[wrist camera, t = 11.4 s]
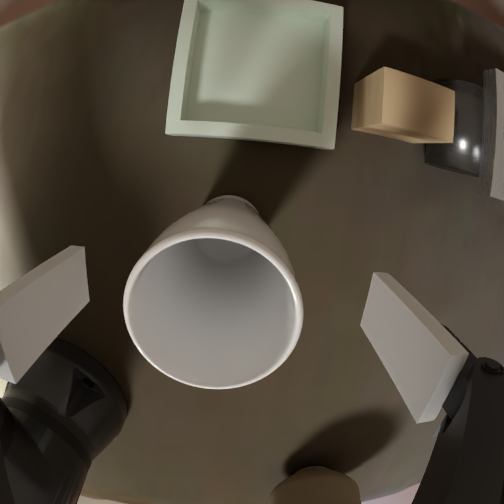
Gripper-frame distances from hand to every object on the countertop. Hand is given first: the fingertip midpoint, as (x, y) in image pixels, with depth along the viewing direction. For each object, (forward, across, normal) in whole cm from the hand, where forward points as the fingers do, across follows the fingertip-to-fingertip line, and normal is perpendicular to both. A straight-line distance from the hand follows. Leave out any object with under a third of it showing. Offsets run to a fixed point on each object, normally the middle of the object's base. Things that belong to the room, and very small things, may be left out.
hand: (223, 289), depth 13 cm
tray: (+12, 0, +13) cm, 18 cm away
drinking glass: (+13, 0, 0) cm, 13 cm away
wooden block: (+13, +12, +11) cm, 20 cm away
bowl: (+13, +12, -34) cm, 39 cm away
